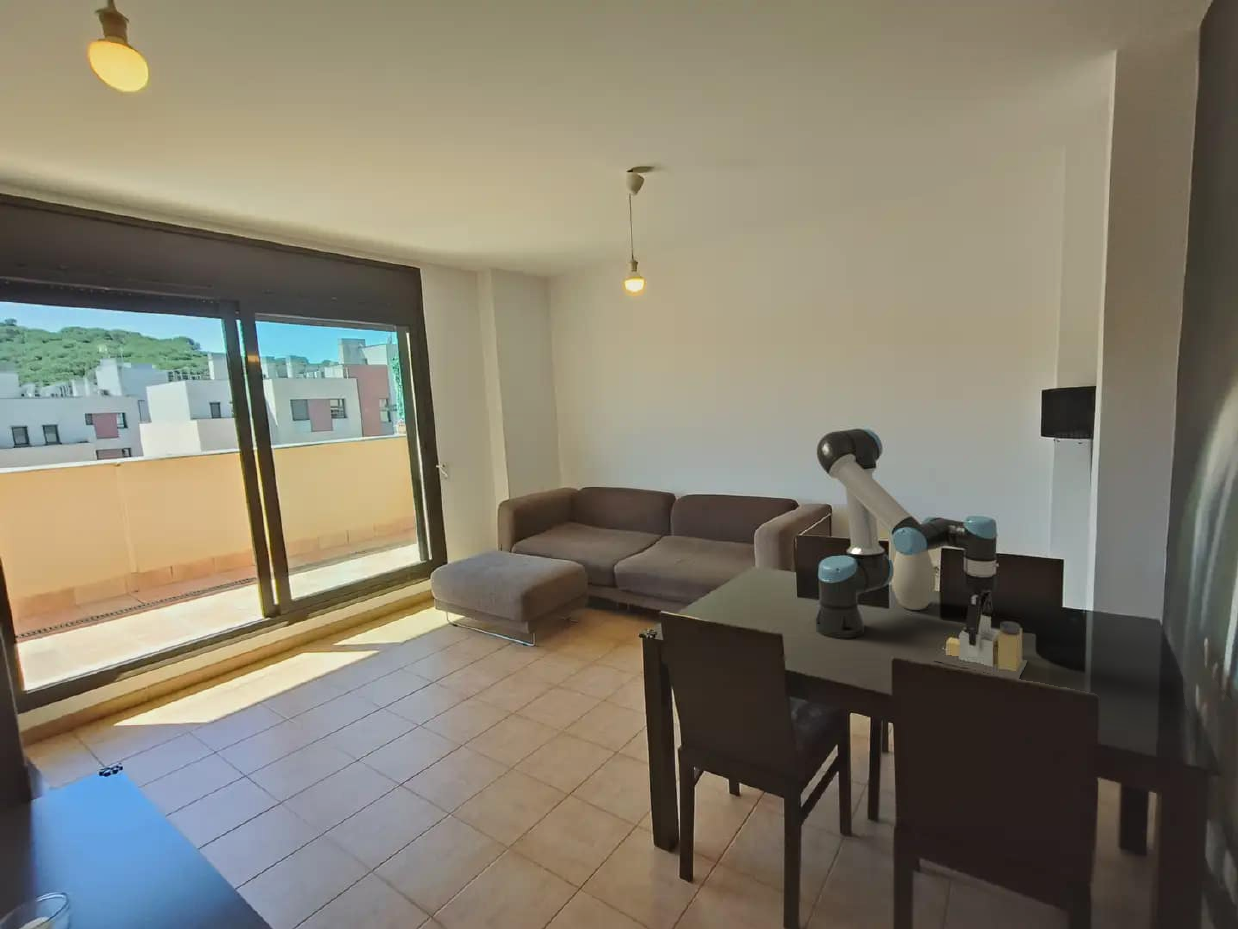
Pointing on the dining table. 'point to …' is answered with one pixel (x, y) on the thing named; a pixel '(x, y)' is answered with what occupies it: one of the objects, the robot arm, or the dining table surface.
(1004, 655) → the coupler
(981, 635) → the grey slotted block
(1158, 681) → the dining table surface
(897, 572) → the vase
